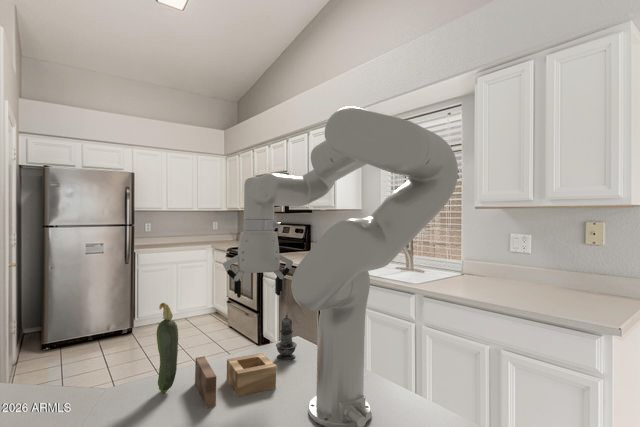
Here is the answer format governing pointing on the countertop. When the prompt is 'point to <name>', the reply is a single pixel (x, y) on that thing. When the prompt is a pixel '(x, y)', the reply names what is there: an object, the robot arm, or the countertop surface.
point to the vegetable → (167, 349)
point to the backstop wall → (205, 381)
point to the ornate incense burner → (286, 341)
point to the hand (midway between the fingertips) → (258, 295)
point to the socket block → (251, 374)
